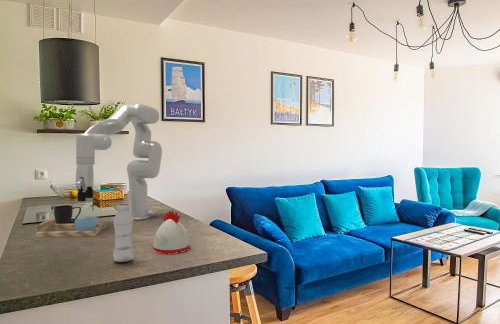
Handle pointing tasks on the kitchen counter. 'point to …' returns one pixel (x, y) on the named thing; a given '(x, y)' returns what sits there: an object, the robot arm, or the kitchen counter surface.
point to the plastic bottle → (123, 234)
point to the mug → (64, 214)
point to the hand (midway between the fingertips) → (85, 199)
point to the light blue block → (86, 223)
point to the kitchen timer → (171, 235)
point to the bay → (50, 225)
